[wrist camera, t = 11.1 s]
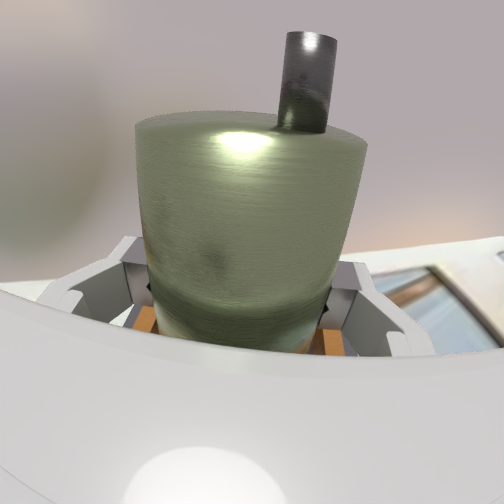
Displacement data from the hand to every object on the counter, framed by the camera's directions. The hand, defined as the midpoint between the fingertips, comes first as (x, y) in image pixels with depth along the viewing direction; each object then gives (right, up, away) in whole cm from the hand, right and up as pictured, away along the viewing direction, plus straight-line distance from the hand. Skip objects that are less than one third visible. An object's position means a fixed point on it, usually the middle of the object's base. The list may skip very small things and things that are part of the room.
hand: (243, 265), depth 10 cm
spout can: (-1, -5, +3) cm, 6 cm away
